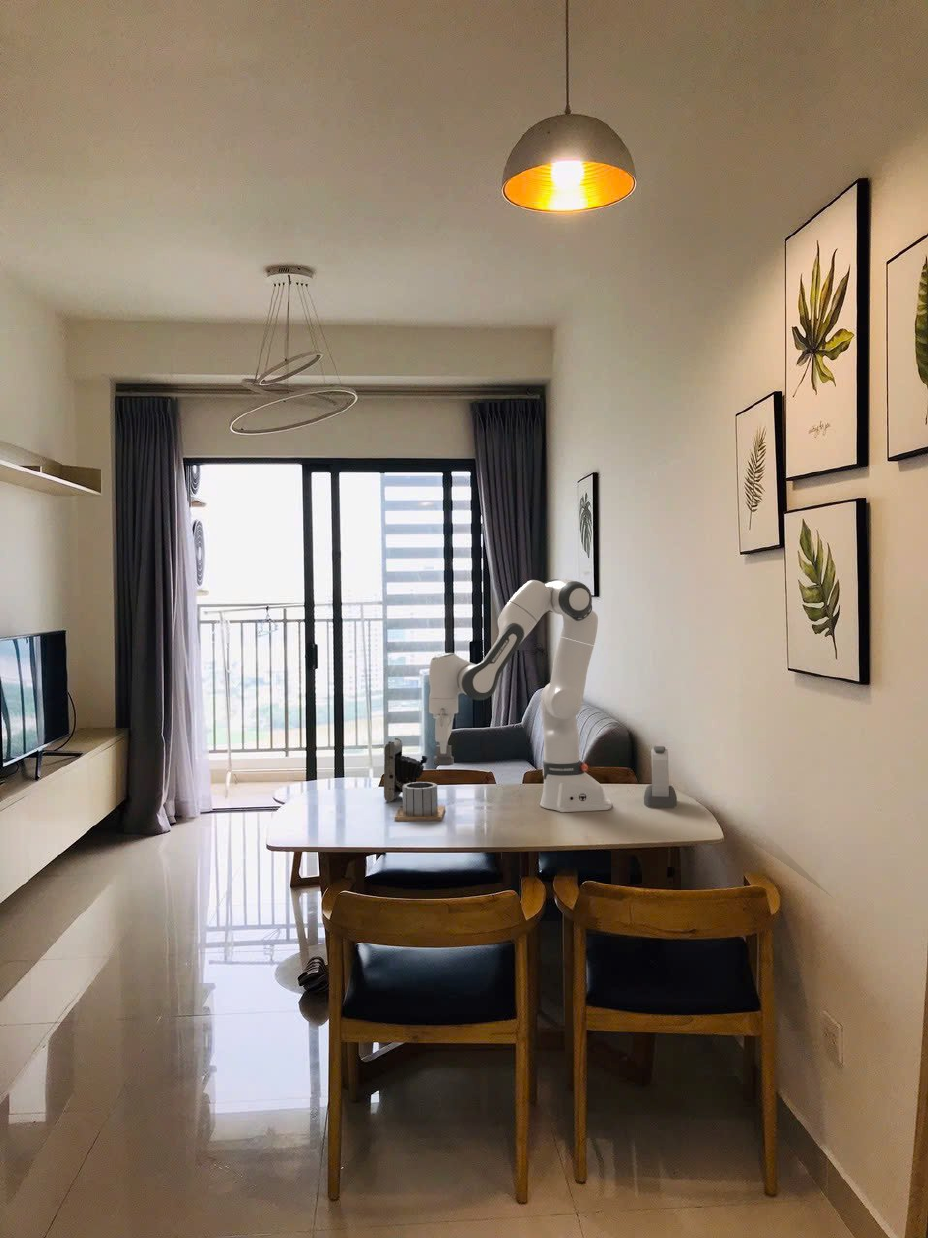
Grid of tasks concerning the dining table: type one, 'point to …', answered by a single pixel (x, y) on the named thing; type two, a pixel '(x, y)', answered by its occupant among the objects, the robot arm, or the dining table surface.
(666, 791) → the grey piece
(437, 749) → the rotary knob
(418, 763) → the vintage camera
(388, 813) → the dining table surface
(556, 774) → the robot arm
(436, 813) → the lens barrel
